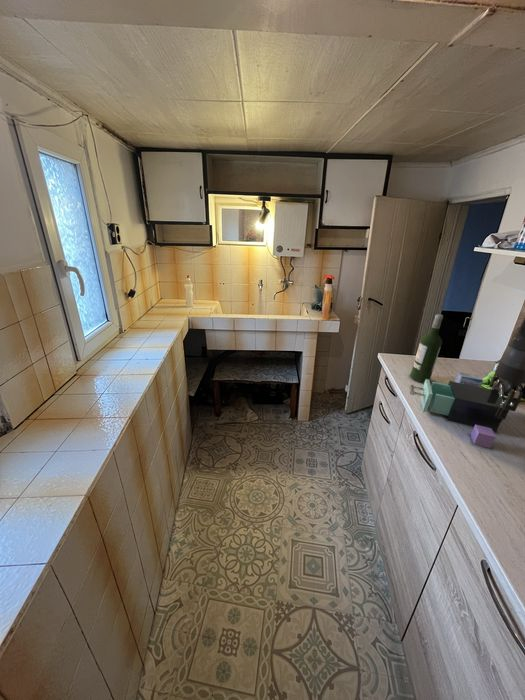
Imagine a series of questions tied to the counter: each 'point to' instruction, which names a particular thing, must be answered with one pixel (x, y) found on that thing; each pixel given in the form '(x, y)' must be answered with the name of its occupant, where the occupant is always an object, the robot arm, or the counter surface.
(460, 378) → the medicine box
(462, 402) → the drawer cabinet
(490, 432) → the purple cube
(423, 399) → the drawer
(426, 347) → the wine bottle
